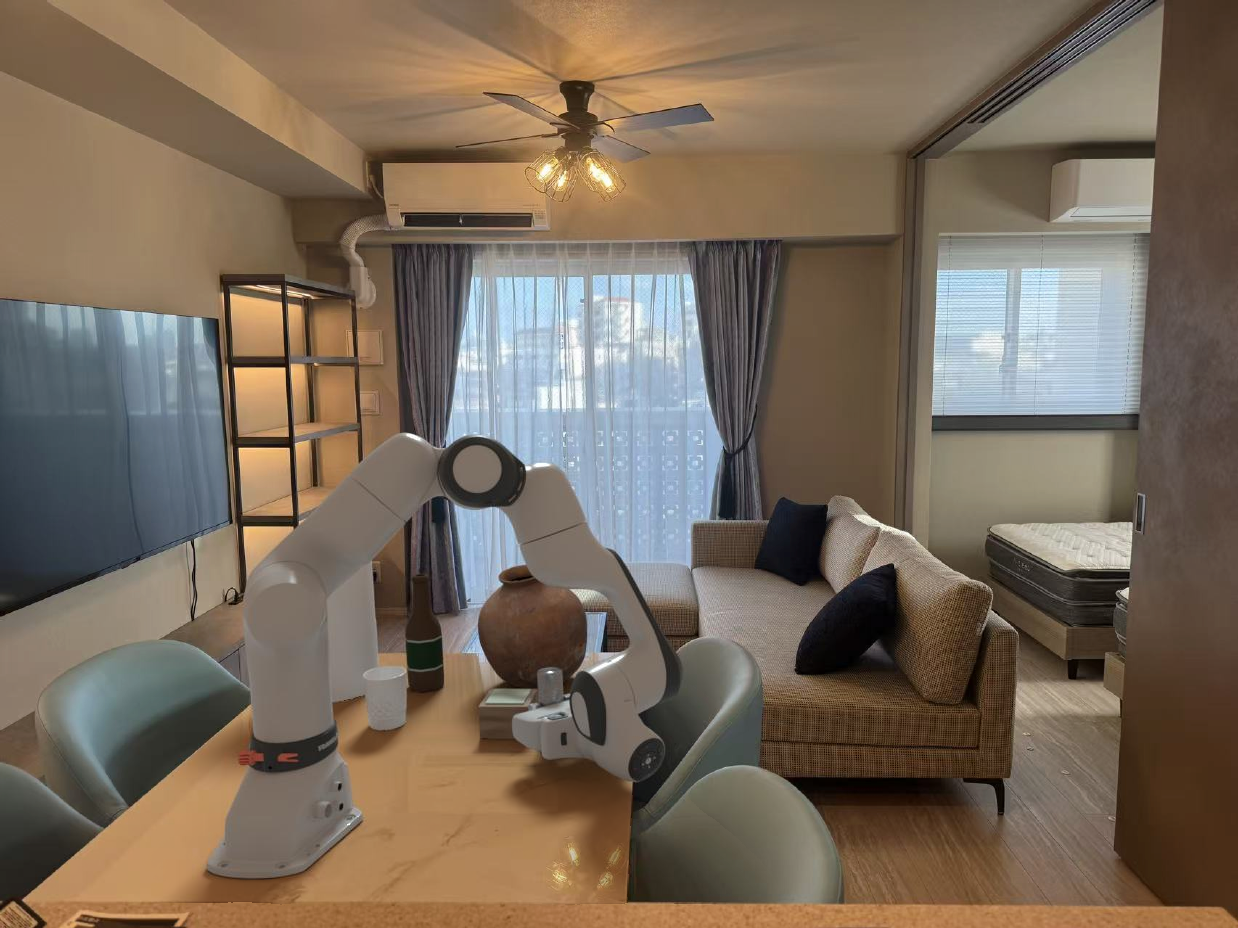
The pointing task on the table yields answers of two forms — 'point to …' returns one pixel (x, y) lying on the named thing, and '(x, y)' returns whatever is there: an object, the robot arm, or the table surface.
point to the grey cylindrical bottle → (550, 686)
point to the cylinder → (352, 634)
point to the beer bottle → (423, 641)
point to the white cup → (386, 697)
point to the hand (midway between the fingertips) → (548, 703)
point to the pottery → (531, 629)
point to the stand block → (503, 711)
